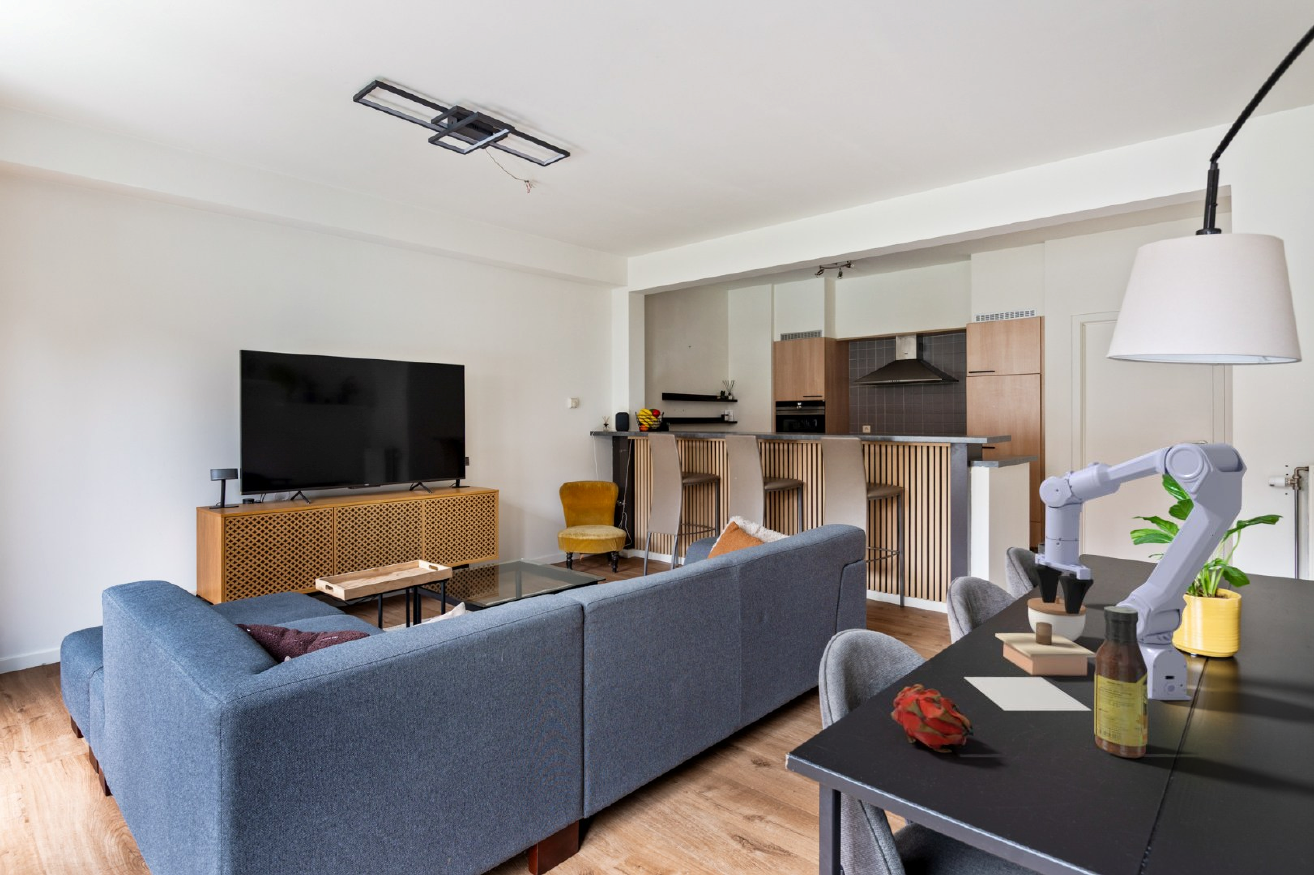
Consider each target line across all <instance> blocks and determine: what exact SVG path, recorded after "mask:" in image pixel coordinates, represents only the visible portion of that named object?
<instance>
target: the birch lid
mask: <svg viewBox="0 0 1314 875" xmlns="http://www.w3.org/2000/svg"><path fill="white" fill-rule="evenodd" d="M994 636H995V638H998V639H999V640H1001V641H1003V643H1004V642H1006V643H1007V644H1009V645H1011V646H1012V647H1014V648H1016V649H1017V650H1019V651H1021V652H1023V653H1024V654H1026V655H1028V656H1029V657H1087V658H1096V652H1094V651H1091V650H1090V649H1088V648H1085V647H1084V646H1081V645H1079V644H1077V643H1076V642H1074V641H1073V642H1072V641H1070V640H1068V639H1066V638H1064V637H1062V636H1060V635H1058V634H1056V633H1052V624H1049V623H1045V622H1037V623H1036V633H1035V632H1008V633H1007V632H1001V633H1000V632H998V633H997V632H995V635H994Z"/></svg>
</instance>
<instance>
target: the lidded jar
mask: <svg viewBox="0 0 1314 875" xmlns="http://www.w3.org/2000/svg"><path fill="white" fill-rule="evenodd" d="M1027 606H1028V607H1027V616H1028V622H1029V624H1030V625H1029V626H1030V628H1031V630H1032V631H1033V633H1036V623H1037V622H1045V623H1049V624H1052V633H1056V634H1058V635H1060V636H1062V637H1064V638H1066V639H1068V640H1070V641H1072V642H1074V641H1076V640H1077V639H1078V638H1080V637H1081V635H1082V633H1083V631H1084V628H1085V625H1086V614H1087V607H1086V606H1085V605H1083V604H1082V605H1081V608H1080V611H1079V614H1068V613H1066V610H1065V602H1064V599H1062V598H1060V596H1059V595H1057V596H1056V600H1055V603H1044V602H1043V601H1042V597H1034V598H1033V597H1032V598H1030V599H1028V600H1027Z"/></svg>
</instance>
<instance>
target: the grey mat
mask: <svg viewBox="0 0 1314 875" xmlns="http://www.w3.org/2000/svg"><path fill="white" fill-rule="evenodd" d="M963 679H965V680H966V681H967V682H969V683H970V684H971V685H972V686H973V687H975V688H976V689H978V690H979V692H981V693H982V694H984V695H985V696H986V697H987V698H988V699H989V700H991V701H992V702H993V703H995V705H997V706H998V707H999V708H1001V709H1002V710H1003V711H1006V712H1007V711H1009V712H1010V711H1012V712H1013V711H1015V712H1018V711H1021V712H1022V711H1023V712H1024V711H1025V712H1027V711H1028V712H1029V711H1030V712H1033V711H1034V712H1036V711H1037V712H1038V711H1039V712H1040V711H1041V712H1043V711H1044V712H1045V711H1046V712H1051V711H1052V712H1054V711H1055V712H1056V711H1057V712H1059V711H1062V712H1063V711H1064V712H1065V711H1067V712H1068V711H1070V712H1073V711H1075V712H1078V711H1079V712H1082V711H1083V712H1084V711H1085V712H1088V711H1090V712H1091V711H1092V709H1090V708H1089V707H1088V706H1086V705H1084V703H1083V704H1082V703H1081V702H1080V701H1078V700H1077V699H1075V698H1074V697H1072V696H1070V695H1069V694H1067V693H1066V692H1064V691H1062V690H1061V689H1059V688H1058V687H1057V686H1056V685H1054V684H1052V683H1051V682H1049V681H1048V680H1046V679H1044V678H1043V677H1041V676H1025V677H1024V676H1022V677H1021V676H1019V677H1018V676H1013V677H1012V676H1006V677H1005V676H998V677H997V676H973V677H972V676H964V677H963Z"/></svg>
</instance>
